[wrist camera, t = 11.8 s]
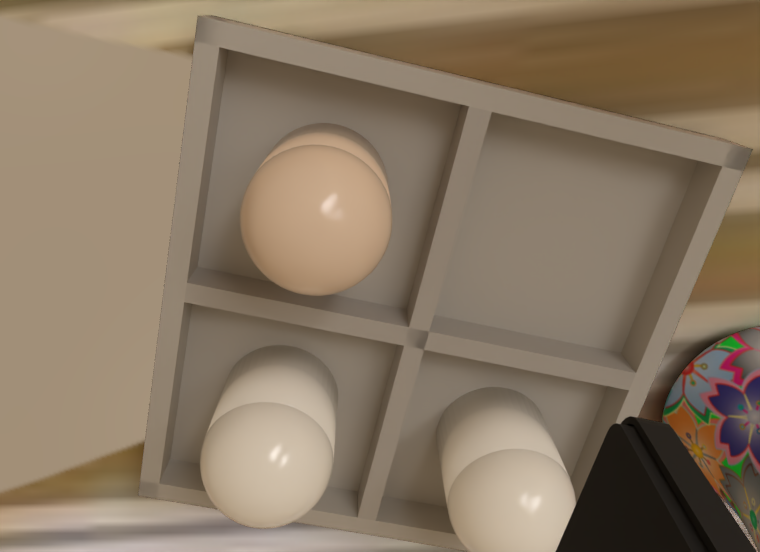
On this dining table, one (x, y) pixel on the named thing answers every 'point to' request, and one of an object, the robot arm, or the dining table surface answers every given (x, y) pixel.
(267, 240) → the egg
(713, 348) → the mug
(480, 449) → the egg
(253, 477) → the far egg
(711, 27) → the dining table surface
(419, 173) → the carton
